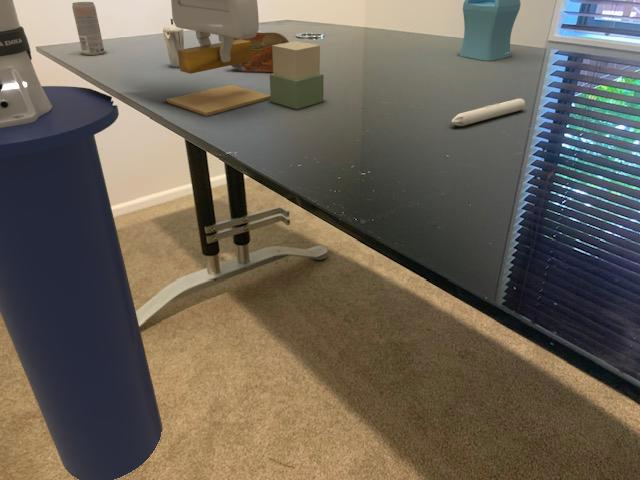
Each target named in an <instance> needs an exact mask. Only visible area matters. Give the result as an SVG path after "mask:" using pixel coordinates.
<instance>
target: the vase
mask: <svg viewBox="0 0 640 480" xmlns="http://www.w3.org/2000/svg"><path fill="white" fill-rule="evenodd" d="M521 4H522V3H521V0H464V1H463V5H462V14H463V23H464V25H463V26H464V28H463V29H464V34H463V41H462V45H461V48H460V52H459V56H460V57H463V58H468V59H469V58H470V59H474V60H479V61H486V62H492V61H496V60H497V61H498V60H501V59H505V58H509V57H511V56H512V55H511V38H512V37H511V36H512V32H513V27H514V25H515V22H516V19H517V16H518V14H519V12H520V11H521V10H520V9H521ZM507 52H510V53H507ZM505 53H506V54H505Z"/></svg>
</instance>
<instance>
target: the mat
mask: <svg viewBox="0 0 640 480" xmlns="http://www.w3.org/2000/svg"><path fill="white" fill-rule="evenodd" d="M267 100H271V95H270V94H267V93H262V92H259V91H255V90H252V89H249V88H245V87H242V86H241V87H240V86H237V85H234V84H228V85H224V86H219V87H215V88H211V89H206V90H201V91H197V92H192V93H188V94H184V95H180V96H175V97H171V98H167V99H166V102H167V103H168V104H171V105H173V106H177V107H179V108H182V109H185V110H188V111H191V112H194V113H197V114H200V115H202V116H204V117H208V116H211V115H212V116H213V115H215V114H219V113H223V112H226V111H231V110H235V109H238V108H241V107H245V106H248V105H253V104H256V103H257V104H258V103H260V102H263V101H267Z"/></svg>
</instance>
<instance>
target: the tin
mask: <svg viewBox="0 0 640 480" xmlns="http://www.w3.org/2000/svg"><path fill="white" fill-rule="evenodd" d="M233 39H234V40H240V39H237V38H233ZM241 40H247V41H251V49H252V61H249V62H244V63H240V64H235V65H230V67H232V68H233V69H235V70H236V71H239V72H241V73H247V72H248V73H250V72H251V73H252V72H253V73H273V53H272V45H278V44H283V43H289V42H290V41H289V39H288V38H286V37H285V36H284V35H283V34H281V33H279V32H267V31H265V32H264V31H262V32H257V35H256V36H255V37H253V38H248V39H241Z"/></svg>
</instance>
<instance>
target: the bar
mask: <svg viewBox="0 0 640 480" xmlns="http://www.w3.org/2000/svg"><path fill="white" fill-rule="evenodd" d="M220 46H221V42H217V43H211V45H205V46H194V47H188V48H184V49H181V50H177V52H178V59H179V66H180V67H179V71H180V72H182V73H185V74H188V75H189V74H190V75H192V74H197V73H201V72H207V71H211V70H216V69H220V68H226V67H231V65H235V64H240V63H244V62H249V61H252V49H251V41H247V40H241V39H240V40H234V41H233V44H232V47H231V50H230V58H231V59H230V61H229V62H221V61H219V60H218V56H217V51H220Z"/></svg>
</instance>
